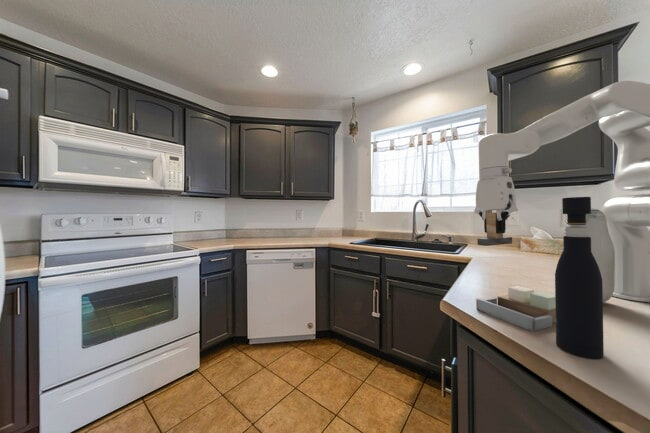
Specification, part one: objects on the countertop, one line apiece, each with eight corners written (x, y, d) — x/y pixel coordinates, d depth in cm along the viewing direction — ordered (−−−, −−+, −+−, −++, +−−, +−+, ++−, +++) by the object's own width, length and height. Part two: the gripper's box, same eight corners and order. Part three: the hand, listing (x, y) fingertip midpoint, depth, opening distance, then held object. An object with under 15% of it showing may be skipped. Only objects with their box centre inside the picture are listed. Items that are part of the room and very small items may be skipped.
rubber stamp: (502, 242, 79) (501, 212, 79) (512, 243, 76) (511, 212, 76) (477, 244, 76) (476, 213, 76) (486, 245, 73) (485, 212, 73)
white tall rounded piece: (568, 293, 79) (567, 208, 79) (617, 303, 70) (616, 207, 70) (560, 300, 73) (558, 208, 73) (612, 311, 65) (610, 207, 65)
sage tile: (540, 302, 64) (540, 291, 64) (559, 308, 60) (558, 296, 60) (530, 304, 63) (530, 293, 63) (548, 310, 59) (548, 298, 59)
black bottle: (614, 361, 44) (611, 195, 43) (572, 357, 45) (569, 196, 45) (584, 342, 50) (581, 197, 50) (548, 340, 51) (545, 199, 51)
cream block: (518, 296, 69) (517, 285, 69) (533, 300, 65) (533, 289, 65) (508, 298, 68) (508, 287, 68) (523, 302, 64) (523, 291, 64)
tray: (494, 305, 70) (494, 295, 70) (552, 326, 57) (552, 313, 57) (476, 309, 68) (476, 298, 68) (532, 331, 55) (532, 318, 55)
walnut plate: (526, 301, 73) (525, 291, 73) (577, 316, 62) (577, 305, 62) (497, 306, 69) (497, 296, 69) (547, 324, 58) (547, 312, 58)
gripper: (530, 170, 69) (532, 234, 69) (478, 178, 85) (479, 231, 85) (512, 169, 67) (513, 235, 67) (462, 178, 82) (463, 232, 83)
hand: (494, 232), depth 76 cm, fingers closed on rubber stamp, 3 cm apart
